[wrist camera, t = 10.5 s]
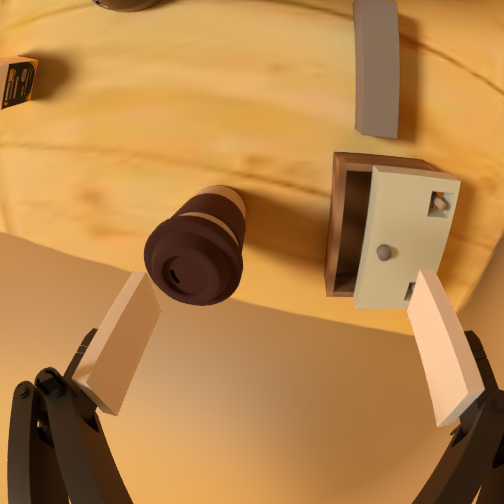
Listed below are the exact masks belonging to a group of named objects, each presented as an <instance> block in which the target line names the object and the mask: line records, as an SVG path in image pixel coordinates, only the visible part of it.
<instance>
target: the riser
mask: <svg viewBox="0 0 504 504" xmlns="http://www.w3.org/2000/svg"><path fill="white" fill-rule="evenodd" d="M353 12H354V28H355V53H356V113H355V129H356V130H357V131H358V132H359V133H360V134H362V135H368V136H378V137H387V138H396V139H397V131H398V116H399V91H400V52H399V28H398V14H397V2H395V1H390V0H356V1H355V2H354V3H353Z"/></svg>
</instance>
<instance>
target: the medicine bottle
mask: <svg viewBox="0 0 504 504" xmlns="http://www.w3.org/2000/svg"><path fill="white" fill-rule="evenodd" d="M38 62H39V60H37V59H31V58H26V57H19V56H12V57H5V58H0V110H1V109H4V108H7V107H11V106H14V105H17V104H21V103H24V102H28V101H30V99H31V93H32V88H33V83H34V79H35V75H36V70H37V66H38Z"/></svg>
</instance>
